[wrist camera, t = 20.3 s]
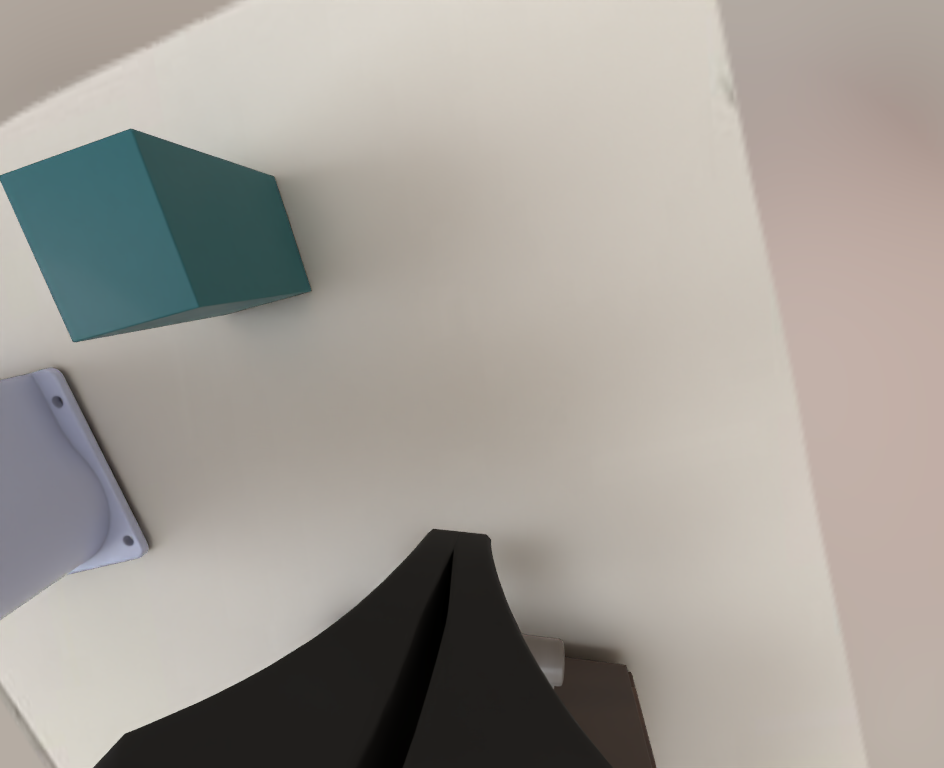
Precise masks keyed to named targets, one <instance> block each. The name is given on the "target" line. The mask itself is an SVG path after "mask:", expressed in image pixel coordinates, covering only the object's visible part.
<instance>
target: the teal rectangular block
mask: <svg viewBox="0 0 944 768" xmlns="http://www.w3.org/2000/svg"><path fill="white" fill-rule="evenodd" d="M0 181H1V183H2V185H3V188H4V190H5V192H6V194H7V197H8V199H9V201H10V203H11V205H12V208H13V210H14V212H15V214H16V217H17V219H18V221H19V223H20V225H21V228H22V230H23V232H24V234H25V237H26V239H27V241H28V243H29V245H30V248H31V250H32V252H33V254H34V257H35V259H36V261H37V263H38V265H39V268H40V270H41V272H42V274H43V277H44V279H45V281H46V283H47V285H48V288H49V290H50V292H51V294H52V297H53V299H54V301H55V303H56V305H57V308H58V310H59V312H60V314H61V317H62V319H63V321H64V323H65V325H66V328H67V330H68V332H69V334H70V337H71V339H72V341H73V342H80V341H85V340H91V339H96V338H102V337H107V336H112V335H118V334H123V333H129V332H134V331H140V330H145V329H151V328H156V327H162V326H167V325H172V324H178V323H183V322H189V321H194V320H200V319H205V318H211V317H216V316H222V315H226V314H230V313H233V312H237V311H241V310H244V309H248V308H252V307H255V306H259V305H263V304H266V303H270V302H274V301H277V300H281V299H285V298H288V297H292V296H296V295H299V294H303V293H307V292H310V291H311V288H310V285H309V281H308V278H307V275H306V272H305V269H304V266H303V263H302V260H301V257H300V254H299V251H298V248H297V245H296V242H295V239H294V236H293V233H292V230H291V226H290V223H289V220H288V217H287V214H286V211H285V208H284V205H283V202H282V199H281V196H280V193H279V190H278V187H277V184H276V181H275V178H274V176H271V175H268V174H265V173H262V172H259V171H256V170H253V169H250V168H247V167H244V166H241V165H238V164H235V163H232V162H229V161H226V160H223V159H220V158H217V157H214V156H211V155H208V154H205V153H202V152H199V151H196V150H193V149H190V148H187V147H184V146H181V145H178V144H175V143H173V142H170V141H167V140H164V139H161V138H158V137H155V136H152V135H149V134H146V133H143V132H140V131H137V130H134V129H128V130H126V131H123V132H120V133H117V134H115V135H112V136H109V137H106V138H103V139H101V140H98V141H95V142H92V143H89V144H87V145H84V146H81V147H78V148H75V149H73V150H70V151H67V152H64V153H62V154H59V155H56V156H53V157H50V158H48V159H45V160H42V161H39V162H36V163H34V164H31V165H28V166H25V167H22V168H20V169H17V170H14V171H11V172H8V173H6V174H3V175H0Z"/></svg>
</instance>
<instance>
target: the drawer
mask: <svg viewBox="0 0 944 768" xmlns="http://www.w3.org/2000/svg"><path fill="white" fill-rule="evenodd" d="M522 636H523V638H524V640H525V642H526V643H527V645H528V647H529V649H530V651H531V653H532V654H533V656H534V658H535V660H536V661H537V663H538V665H539V667H540V668H541V670H542V671H543V673H544V675H545V676H546V678H547V680H548V681H549V683H550V684H551V686H552V688H553V689H554V691H555V692H556V693H557V695H558V696H559V698H560V699H561V700H562V702H563V703H564V705H565V706H566V707H567V709H568V710H569V711H570V713H571V714H572V716H573V717H574V718H575V720H576V721H577V723H578V724H579V725H580V727H581V728H582V730H583V731H584V732H585V734H586V735H587V736H588V737H589V739H590V740H591V741H592V742H593V744H594V745H595V746H596V747H597V748H598V750H599V751H600V752H601V753H602V755H603V756H604V757H605V758H606V760H607V761H608V762H609V763H610V764H611V766H612V767H613V768H652V766H651V762H650V758H649V754H648V750H647V746H646V742H645V738H644V734H643V730H642V726H641V722H640V718H639V714H638V710H637V706H636V702H635V698H634V694H633V690H632V687H631V683H630V679H629V675H628V671H627V667H626V665H622V664H614V663H607V662H599V661H591V660H583V659H576V658H568V657H565V655H564V644H563V641H562V640H561V639H555V638H548V637H540V636H532V635H524V634H522Z"/></svg>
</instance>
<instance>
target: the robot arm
mask: <svg viewBox="0 0 944 768" xmlns="http://www.w3.org/2000/svg"><path fill="white" fill-rule="evenodd" d="M60 398H61V399H62V401H63V403H62V401H61V399H60ZM131 537H132V538H131ZM148 548H149V546H148V543H147V541H146V539H145V537H144V535H143V533H142V531H141V529H140V527H139V525H138V523H137V521H136V519H135V517H134V515H133V513H132V511H131V509H130V507H129V505H128V503H127V501H126V499H125V497H124V495H123V493H122V491H121V489H120V487H119V485H118V483H117V481H116V479H115V477H114V475H113V473H112V471H111V469H110V467H109V465H108V463H107V461H106V459H105V457H104V455H103V453H102V451H101V449H100V447H99V445H98V443H97V441H96V439H95V437H94V435H93V433H92V431H91V429H90V427H89V425H88V423H87V421H86V419H85V417H84V415H83V413H82V411H81V409H80V407H79V405H78V403H77V402H76V400H75V398H74V396H73V394H72V392H71V390H70V388H69V386H68V384H67V382H66V380H65V378H64V376H63V374H62V373H61V372H60V371H59V370H58V369H56V368H46V369H42V370H39V371H36V372H32V373H29V374H25V375H20V376H16V377H11V378H7V379H3V380H0V620H1V619H3V618H4V617H6V616H7V615H8V614H10V613H11V612H13V611H14V610H16V609H17V608H19V607H20V606H22V605H23V604H24V603H26V602H27V601H29V600H30V599H32V598H33V597H35V596H36V595H38V594H39V593H40V592H42V591H43V590H45V589H46V588H48V587H49V586H51V585H52V584H54V583H55V582H56V581H58V580H59V579H61V578H62V577H64V576H65V575H68V574H73V573H77V572H81V571H86V570H90V569H94V568H99V567H103V566H107V565H111V564H116V563H120V562H124V561H129V560H133V559H137V558H140V557H142V556H143V555H144V554H146V553H147V551H148ZM94 768H613V767H612V766H611V764H610V763H609V762H608V761H607V760H606V758H605V757H604V756H603V755H602V753H601V752H600V751H599V750H598V748H597V747H596V746H595V745H594V744H593V742H592V741H591V740H590V739H589V737H588V736H587V735H586V734H585V732H584V731H583V730H582V728H581V727H580V725H579V724H578V723H577V721H576V720H575V718H574V717H573V716H572V714H571V713H570V711H569V710H568V709H567V707H566V706H565V705H564V703H563V702H562V700H561V699H560V698H559V696H558V695H557V693H556V692H555V691H554V689H553V688H552V686H551V684H550V683H549V681H548V680H547V678H546V676H545V675H544V673H543V671H542V670H541V668H540V667H539V665H538V663H537V661H536V660H535V658H534V656H533V654H532V653H531V651H530V649H529V647H528V645H527V643H526V642H525V640H524V638H523V636H522V634H521V632H520V630H519V628H518V625H517V623H516V621H515V619H514V617H513V614H512V612H511V610H510V607H509V605H508V603H507V600H506V598H505V595H504V592H503V589H502V587H501V584H500V581H499V578H498V575H497V572H496V568H495V564H494V560H493V556H492V550H491V539H490V538H489V537H488V536H487V535H486V534H477V533H467V532H458V531H448V530H439V529H433V530H431V531H430V532H429V533H428V534H427V535H426V536H425V538H424V539H423V540H422V541H421V542H420V543H419V545H418V546H417V547H416V548H415V549H414V550H413V551H412V552H411V554H410V555H409V556H408V557H407V558H406V559H405V560H404V561H403V562H402V563H401V564H400V565H399V566H398V567H397V568H396V569H395V570H394V571H393V572H392V573H391V574H390V575H389V576H388V577H387V578H386V579H385V580H384V581H383V582H382V583H381V584H380V585H379V586H378V587H377V588H376V589H375V590H373V591H372V592H371V593H370V594H369V595H368V596H367V597H366V598H364V599H363V600H362V601H361V602H360V603H359V604H358V605H357V606H355V607H354V608H353V609H352V610H351V611H349V612H348V613H347V614H346V615H344V616H343V617H342V618H341V619H339V620H338V621H337V622H335V623H334V624H333V625H331V626H330V627H329V628H327V629H326V630H325V631H323V632H322V633H321V634H319V635H318V636H316V637H315V638H313V639H312V640H310V641H309V642H307V643H306V644H304V645H302V646H301V647H299V648H298V649H296V650H294V651H293V652H291V653H290V654H288V655H286V656H285V657H283V658H282V659H280V660H278V661H277V662H275V663H274V664H272V665H270V666H268V667H267V668H265V669H263V670H261V671H259V672H258V673H256V674H254V675H252V676H250V677H248V678H247V679H245V680H243V681H241V682H239V683H237V684H235V685H233V686H231V687H229V688H227V689H225V690H223V691H221V692H219V693H217V694H215V695H213V696H211V697H209V698H207V699H205V700H203V701H201V702H198V703H196V704H194V705H192V706H189V707H187V708H185V709H182V710H180V711H178V712H176V713H173V714H171V715H169V716H166V717H164V718H162V719H159V720H157V721H155V722H152V723H150V724H148V725H146V726H143V727H141V728H138V729H136V730H133V731H131V732H128V733H126V734H124V735H123V736H122V737H121V738H120V740H119V741H118V742H117V743H116V744H115V745H114V746H113V747H112V748H111V749H110V750H109V751H108V752H107V754H106V755H105V756H104V757H103V758H102V759H101V760H100V761H99V762H98V763H97V764H96V765H95V766H94Z"/></svg>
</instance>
